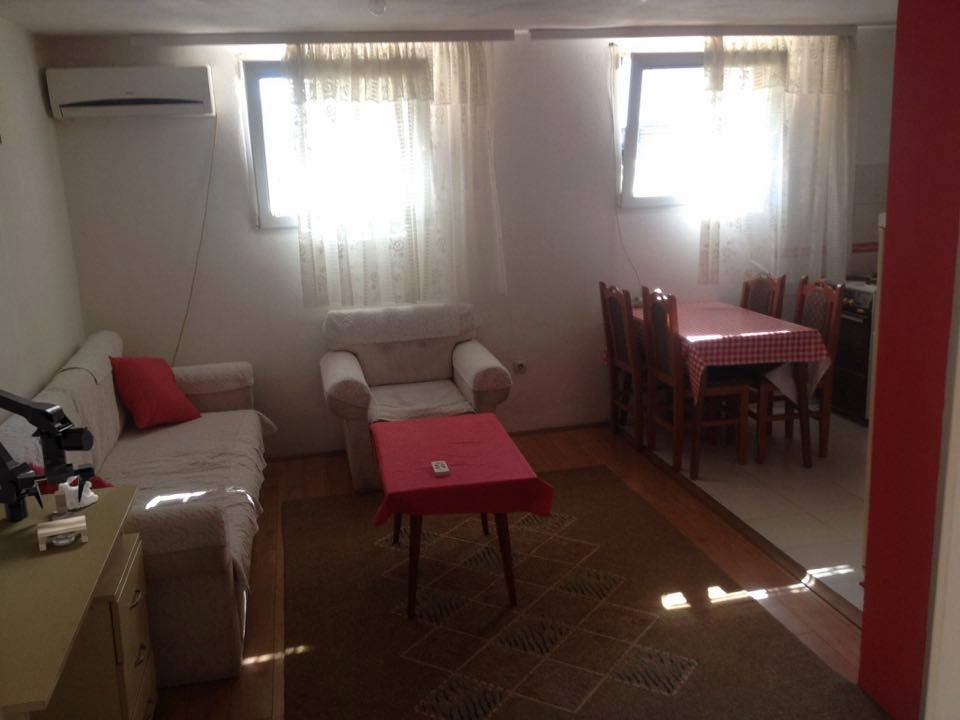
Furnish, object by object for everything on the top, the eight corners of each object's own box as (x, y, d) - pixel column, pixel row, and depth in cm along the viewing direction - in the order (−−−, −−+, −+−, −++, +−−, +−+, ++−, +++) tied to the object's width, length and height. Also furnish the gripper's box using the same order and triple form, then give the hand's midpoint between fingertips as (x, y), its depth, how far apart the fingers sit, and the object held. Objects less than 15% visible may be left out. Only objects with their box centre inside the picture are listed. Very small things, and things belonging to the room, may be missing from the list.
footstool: (40, 540, 216) (37, 523, 215) (87, 531, 221) (84, 515, 220) (40, 551, 209) (37, 534, 208) (88, 541, 214) (85, 525, 213)
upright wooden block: (52, 516, 233) (49, 492, 232) (73, 512, 235) (70, 489, 234) (52, 535, 219) (49, 510, 218) (74, 531, 221) (71, 506, 220)
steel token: (53, 541, 216) (52, 536, 216) (74, 537, 218) (74, 531, 218) (53, 548, 211) (52, 542, 211) (75, 543, 214) (74, 538, 213)
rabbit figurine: (52, 514, 235) (48, 481, 233) (52, 506, 242) (47, 474, 240) (99, 505, 240) (95, 473, 239) (97, 498, 247) (93, 466, 245)
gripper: (14, 464, 218) (22, 521, 221) (92, 453, 226) (99, 507, 229) (15, 454, 228) (23, 508, 231) (90, 443, 236) (97, 495, 239)
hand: (61, 505), depth 232 cm, fingers open, 9 cm apart
